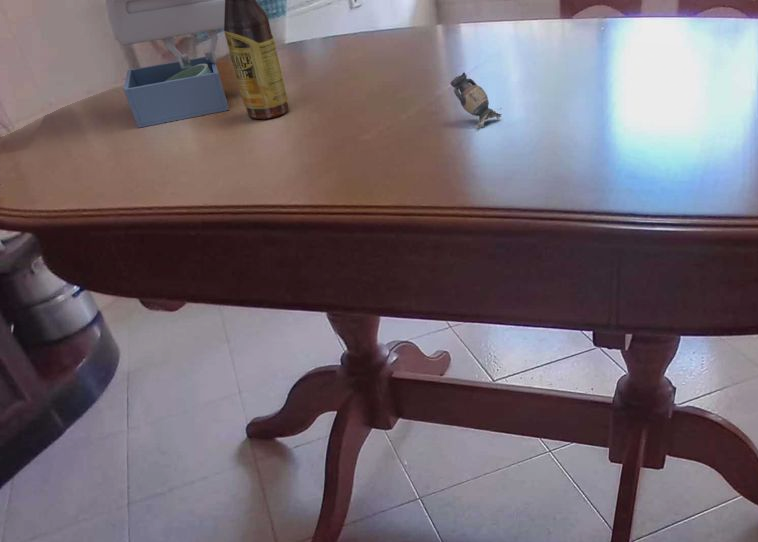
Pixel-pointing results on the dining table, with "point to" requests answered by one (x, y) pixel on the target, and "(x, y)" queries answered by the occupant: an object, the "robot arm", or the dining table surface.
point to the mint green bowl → (192, 72)
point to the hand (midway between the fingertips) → (199, 65)
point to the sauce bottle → (255, 59)
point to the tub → (173, 93)
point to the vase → (473, 99)
